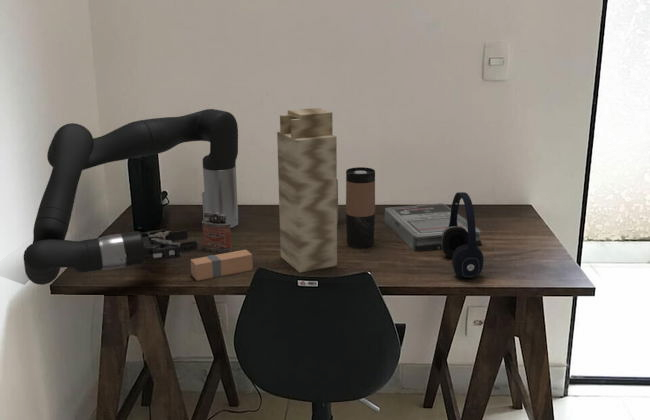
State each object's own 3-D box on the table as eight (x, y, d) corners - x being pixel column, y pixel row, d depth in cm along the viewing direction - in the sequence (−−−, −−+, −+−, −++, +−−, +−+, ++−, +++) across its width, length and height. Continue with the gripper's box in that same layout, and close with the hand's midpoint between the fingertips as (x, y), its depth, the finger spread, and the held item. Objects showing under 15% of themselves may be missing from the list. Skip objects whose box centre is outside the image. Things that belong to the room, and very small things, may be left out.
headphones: (438, 252, 180) (441, 183, 175) (465, 252, 180) (468, 183, 175) (455, 283, 161) (458, 206, 156) (485, 282, 161) (489, 206, 156)
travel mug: (378, 241, 189) (379, 168, 183) (368, 250, 182) (369, 175, 177) (352, 237, 192) (352, 166, 186) (341, 246, 186) (341, 172, 180)
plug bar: (196, 281, 164) (195, 264, 163) (191, 275, 167) (190, 258, 166) (252, 270, 170) (252, 254, 169) (246, 264, 174) (245, 249, 172)
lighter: (234, 248, 185) (232, 212, 182) (228, 253, 181) (226, 216, 179) (207, 245, 187) (204, 209, 184) (200, 249, 184) (198, 213, 181)
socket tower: (299, 272, 168) (296, 117, 157) (280, 256, 178) (276, 109, 168) (337, 265, 172) (336, 113, 161) (316, 250, 183) (314, 106, 172)
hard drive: (414, 253, 181) (415, 237, 180) (383, 222, 206) (383, 207, 205) (481, 247, 185) (482, 231, 184) (442, 217, 210) (443, 203, 209)
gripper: (116, 256, 164) (185, 245, 171) (128, 277, 152) (201, 264, 158) (113, 225, 162) (183, 216, 169) (125, 244, 150) (199, 233, 156)
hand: (191, 239), depth 164 cm, fingers open, 8 cm apart
